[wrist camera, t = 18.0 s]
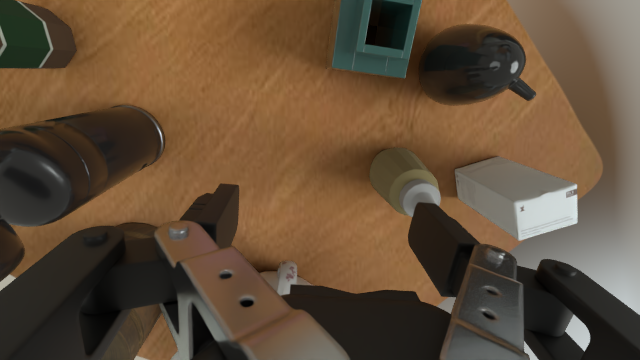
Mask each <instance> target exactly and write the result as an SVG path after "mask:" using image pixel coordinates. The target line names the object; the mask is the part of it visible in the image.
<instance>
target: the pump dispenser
mask: <svg viewBox="0 0 640 360" xmlns="http://www.w3.org/2000/svg"><path fill="white" fill-rule="evenodd" d="M525 63H526V56H525V52H524V49H523V47H522V45H521V44H520V43H519V41H518V40H517V39H516V38H514V37H513V36H512V35H510V34H508V33H507V32H505V31H502V30H500V29H497V28H494V27H490V26H486V25H480V24H461V25H456V26H452V27H449V28H447V29H445V30H443V31H441V32H440V33H438V34H437V35H436V36H435V37H434V38H433V39H432V40H431V41H430V42H429V43H428V45H427V46H426V48H425V50H424V52H423V54H422V56H421V59H420V64H419V79H420V83H421V86H422V88H423V90H424V91H425V93H426V94H427V95H428V96H429V97H430V98H431V99H432V100H434V101H436V102H438V103H440V104H444V105H451V106H458V105H469V104H475V103H479V102H482V101H485V100H488V99H491V98H493V97H495V96H497V95H499V94H500V93H502V92H504V91H505V90H507V89H510V90H511V91H513V92H515V93H516V94H518V95H519V96H521V97H522V98H524V99H525V100H527V101H529V100H532V99H533V98H534V97H535V96H536V92H535V91H533V90H532V89H531V88H530V87H529V86H528V85H527V84H526V83H525V82H524V81H522V80H521V79H520V78H519V77H520V75H521V73H522V71H523V69H524V67H525Z"/></svg>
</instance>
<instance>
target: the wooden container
mask: <svg viewBox="0 0 640 360" xmlns="http://www.w3.org/2000/svg"><path fill="white" fill-rule="evenodd" d="M116 227H118V228H120V229H122V230H123V231H124V236H125V240H133V239H143V238H151V237H154V232H155V230H156V229H157V227H154V226H151V225H147V224H142V223H126V224H121V225H118V226H116ZM161 314H162V311H161V309H160V306H159V304H155V305H149V306H144V307H138V308H133V309H131V311H130V313H129V315H128V316H127V318H126V320H125V321H124V323H123V325H122V326H121V328H120V329H119V331H118V333H117V334H116V336H115V337H114V339H113V341H112V342H111V344H110V346H109V347H108V349H107V350H106V352H105V354H104V355H103V357H102V358H101V360H134V358H135V357H136V355H137V353H138V351H139V349H140V348H141V346H142V345H143V343H144V342H145V340H146V338H147V337H148V335H149V333H150V332H151V330H152V328H153V327H154V325H155V323H156V322H157V320H158V318H159V317H160V315H161Z"/></svg>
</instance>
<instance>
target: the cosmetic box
mask: <svg viewBox="0 0 640 360" xmlns="http://www.w3.org/2000/svg"><path fill="white" fill-rule="evenodd" d="M455 177H456V187H457V195H458V198H459V200H461V201H462V202H464V203H465V204H467V205H468V206H469V207H471V208H472V209H474V210H475V211H477V212H478V213H480V214H481V215H483V216H484V217H486V218H487V219H488V220H490V221H491V222H493V223H494V224H496V225H497V226H499V227H500V228H502V229H503V230H504V231H506V232H507V233H509V234H510V235H512V236H513V237H515V238H516V239H517V240H523V239H526V238H529V237H533V236H536V235H539V234H542V233H546V232H549V231H552V230H556V229H559V228H562V227H566V226H569V225H573V224H576V223H577V184H575V183H572V182H569V181H567V180H564V179H561V178H558V177H555V176H552V175H550V174H547V173H544V172H541V171H539V170H536V169H533V168H530V167H527V166H525V165H522V164H519V163H516V162H513V161H511V160H508V159H505V158H502V157H500V156H498V157H495V158H491V159H488V160H484V161H481V162H478V163H474V164H471V165H468V166H465V167H462V168H458V169H455Z"/></svg>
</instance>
